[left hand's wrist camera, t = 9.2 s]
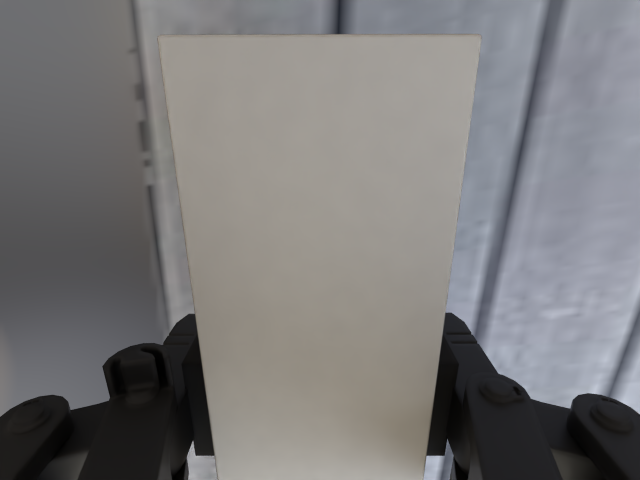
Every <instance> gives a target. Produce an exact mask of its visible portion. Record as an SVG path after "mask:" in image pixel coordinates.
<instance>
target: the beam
mask: <svg viewBox="0 0 640 480" xmlns="http://www.w3.org/2000/svg"><path fill="white" fill-rule="evenodd" d="M481 39H482V37H481V35H479V34H264V35H159V36H158V39H157V40H158V47H159V54H160V62H161V69H162V76H163V83H164V91H165V98H166V105H167V113H168V120H169V127H170V134H171V142H172V149H173V156H174V164H175V171H176V178H177V185H178V193H179V200H180V207H181V215H182V222H183V229H184V236H185V244H186V251H187V258H188V266H189V273H190V280H191V287H192V295H193V302H194V309H195V317H196V324H197V331H198V338H199V346H200V353H201V360H202V368H203V375H204V382H205V390H206V397H207V404H208V411H209V419H210V426H211V433H212V441H213V448H214V455H215V462H216V470H217V477H218V480H423V478H424V470H425V462H426V455H427V447H428V440H429V432H430V425H431V417H432V410H433V402H434V394H435V387H436V379H437V372H438V364H439V357H440V349H441V342H442V334H443V326H444V319H445V311H446V304H447V296H448V289H449V281H450V274H451V266H452V258H453V251H454V243H455V236H456V228H457V221H458V213H459V206H460V198H461V190H462V183H463V175H464V168H465V160H466V153H467V145H468V138H469V130H470V122H471V115H472V107H473V100H474V92H475V85H476V77H477V69H478V62H479V54H480V47H481Z"/></svg>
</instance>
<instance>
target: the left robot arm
mask: <svg viewBox="0 0 640 480" xmlns="http://www.w3.org/2000/svg"><path fill="white" fill-rule="evenodd" d="M103 371H104V375H105V379H106V383H107V387H108V391H109V395H110V399H109V401H106V402H103V403H100V404H96V405H91V406H87V407H83V408H78V409H74V410H70V407H69V403H68V401H67V400H66V399H65V398H63V397H61V396H56V395H48V396H40V397H37V398H34V399H30V400H28V401H25V402H23V403H21V404H19V405H17V406H15V407H13V408H12V409H10V410H9V411H7V412H6V413H5V414H3V415H2V416H1V417H0V480H188V474H189V470H188V463H187V454H188V452H189V449H190V447H191V444H192V441H194V448H195V454H196V456H215V455H214V448H213V441H212V433H211V426H210V419H209V411H208V404H207V397H206V390H205V382H204V375H203V368H202V360H201V353H200V346H199V338H198V331H197V324H196V317H195V314H188V315H187V316H185V317H184V318H183V319H181V320H180V321H179V322H177V323H176V324H175V326H174V327H173V329H172V331H171V332H170V334H169V336H168V337H167V338H166V340H165V341H164V343H163V345H159V344H155V343H143V344H138V345H134V346H130V347H128V348H125V349H123V350H121V351H119V352H117V353H116V354H114V355H113V356H111V357H110V358H109V359H108V360H107V361H106V362H105V364H104V365H103ZM447 439H448V441H449V444H450V447H451V449H452V452H453V454H454V457H453V463H452V469H451V474H450V480H640V414H638V413H637V412H636V411H635V410H633V409H632V408H631V407H629V406H627V405H625V404H623V403H621V402H619V401H617V400H615V399H612V398H609V397H606V396H603V395H598V394H590V393H587V394H582V395H578V396H577V397H576V398H575V399H573V401H572V404H571V408H570V409H569V408H564V407H560V406H556V405H551V404H547V403H543V402H539V401H536V400H533V399H530V396H529V395H528V393H527V392H526V390H525V389H524V388H523V387H522V386H520V385H519V384H518V383H517V382H515V381H514V380H512V379H510V378H508V377H506V376H504V375H500V374H498V372H497V371H496V369H495V368H494V366H493V365H492V363H491V362H490V360H489V359H488V357H487V356H486V354H485V353H484V351H483V350H482V348H481V347H480V345H479V344H477V341H476V339H475V338H474V336H473V335H471V332H470V330H469V329H468V327H467V326H466V324H465V322H464V321H462V320H461V319H459V318H458V317H457V316H455V315H454V314H452V313H445V319H444V326H443V334H442V342H441V349H440V357H439V364H438V372H437V379H436V387H435V394H434V402H433V410H432V417H431V425H430V432H429V440H428V447H427V455H426V456H445V449H446V443H447Z"/></svg>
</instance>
